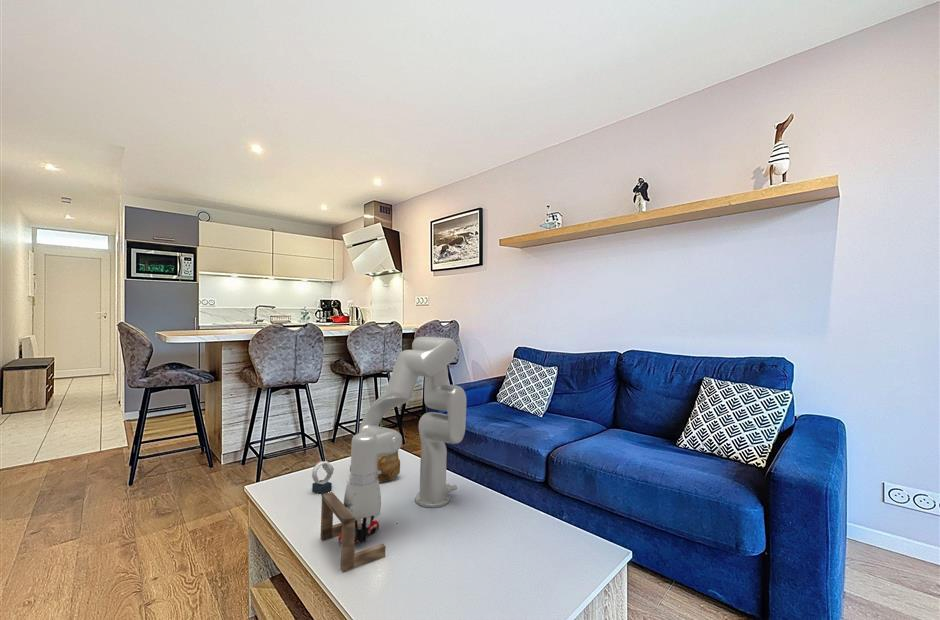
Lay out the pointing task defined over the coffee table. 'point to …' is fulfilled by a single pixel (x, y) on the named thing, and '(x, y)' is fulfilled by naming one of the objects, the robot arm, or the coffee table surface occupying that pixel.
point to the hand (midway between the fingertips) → (361, 540)
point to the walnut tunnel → (345, 534)
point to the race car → (371, 530)
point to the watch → (322, 485)
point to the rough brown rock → (388, 467)
